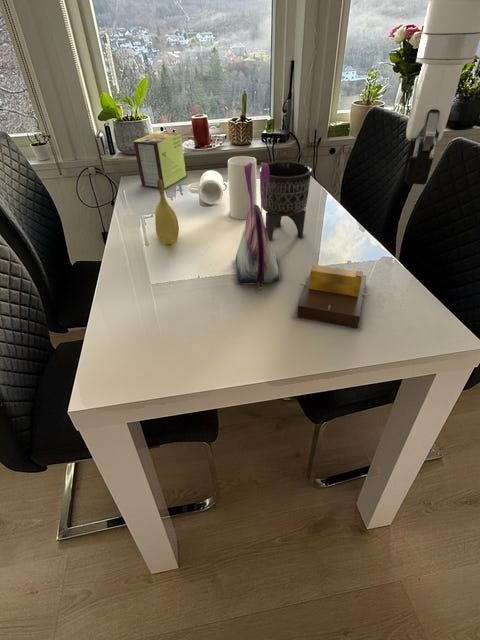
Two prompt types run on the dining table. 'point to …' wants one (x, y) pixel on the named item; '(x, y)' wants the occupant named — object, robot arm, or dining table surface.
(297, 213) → the planter
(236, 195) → the cup
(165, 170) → the protein box
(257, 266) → the handbag
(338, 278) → the yellow block
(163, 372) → the dining table surface
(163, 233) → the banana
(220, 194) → the mug
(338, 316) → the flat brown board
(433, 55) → the robot arm
